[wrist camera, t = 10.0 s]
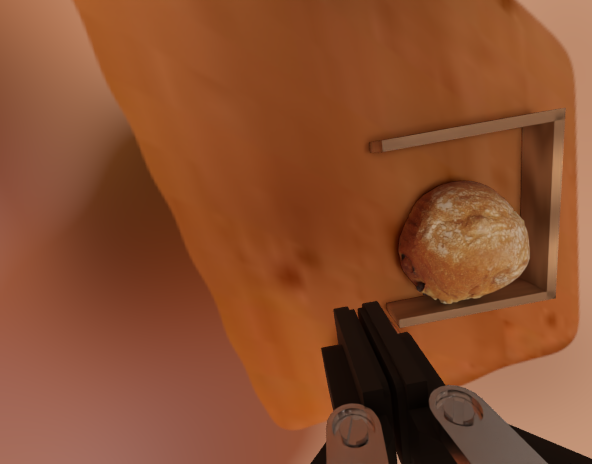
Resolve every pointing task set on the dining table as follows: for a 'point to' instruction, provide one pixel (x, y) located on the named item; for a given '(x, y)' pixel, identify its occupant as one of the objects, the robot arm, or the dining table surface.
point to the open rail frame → (534, 211)
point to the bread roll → (463, 242)
